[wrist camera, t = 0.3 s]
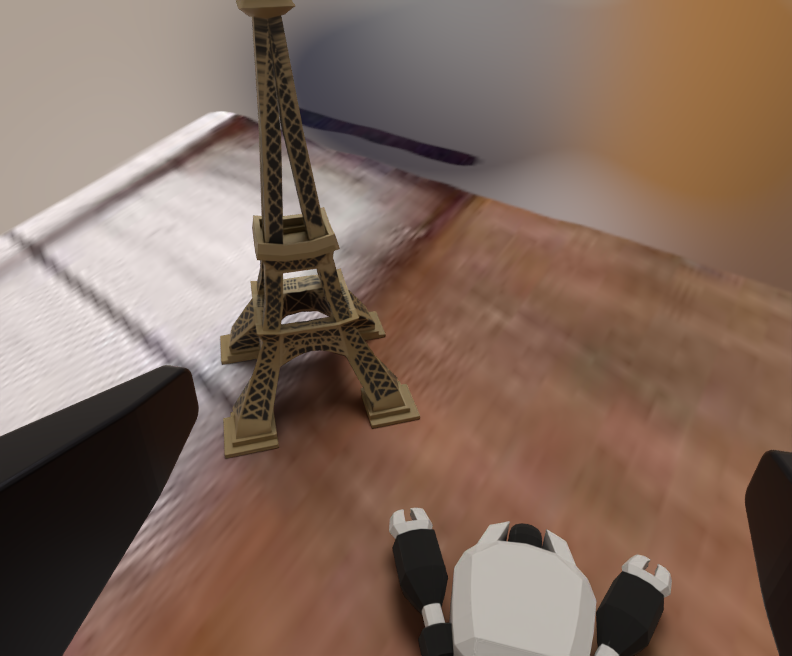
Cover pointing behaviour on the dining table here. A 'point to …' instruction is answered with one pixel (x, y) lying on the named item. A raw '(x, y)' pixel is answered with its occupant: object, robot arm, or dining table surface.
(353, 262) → the dining table surface
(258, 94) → the eiffel tower
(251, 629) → the dining table surface
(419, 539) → the robot toy
